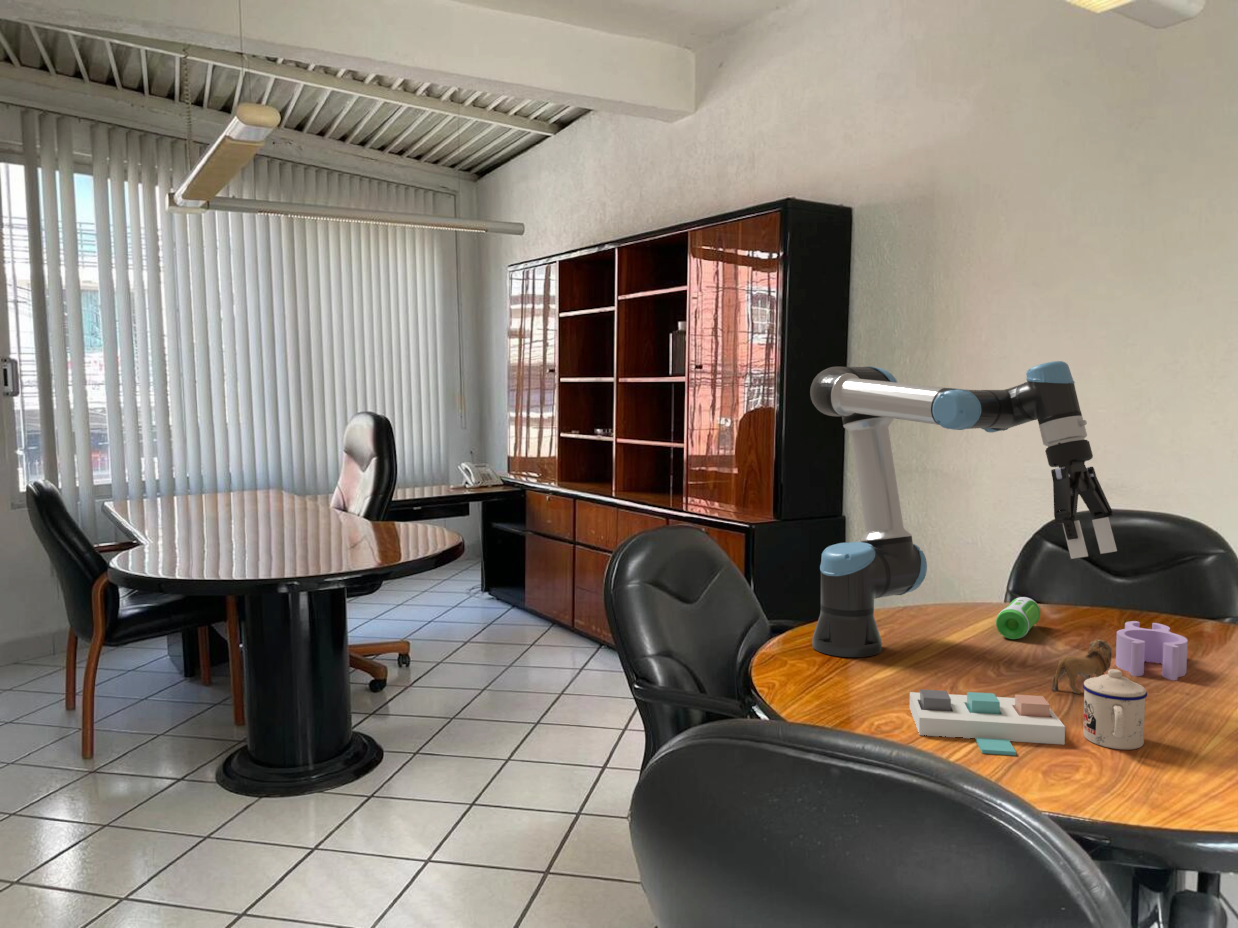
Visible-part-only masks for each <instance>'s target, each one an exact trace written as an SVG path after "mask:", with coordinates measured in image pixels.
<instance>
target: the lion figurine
mask: <svg viewBox="0 0 1238 928" xmlns="http://www.w3.org/2000/svg"><path fill="white" fill-rule="evenodd" d="M1112 651H1113V648H1112V647H1111V646H1110V644H1109V643H1108V642H1107V641H1105V640H1103V639H1094V640H1092V641H1091V642H1090V643H1089V648H1088V652H1087V654H1086V655H1085V656H1073V655H1066V656H1065V655H1064V656H1063V657H1061V658H1060V659H1059V662H1058V665H1057V668H1056V670H1055V671H1056V672H1055V674H1054V676H1053V677H1052V678H1051V684H1050V689H1051V690H1052V691H1053V692H1054V693H1057V692H1058V690H1059V680H1061V678H1062V677H1063V676H1064V675H1065V674H1067V677H1068V679H1069V682H1068V686H1069V687H1070V689H1071V690H1072V692H1073V693H1074V694H1078V695H1079V694H1080V695H1081V693H1082V691H1081V690H1080V689H1078V688H1076V682H1077V679H1078V676H1082V677H1084V681H1083V683H1084V682H1085V680H1087V679H1089V678H1091V676H1092V675H1095V677H1099V676H1101V675H1105V673H1106V672H1108V670H1110V668H1111V665H1112V664H1111V662H1112V656H1113V653H1112Z"/></svg>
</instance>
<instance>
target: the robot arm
mask: <svg viewBox="0 0 1238 928" xmlns="http://www.w3.org/2000/svg"><path fill="white" fill-rule="evenodd" d="M1025 375H1026V381H1025V382H1024V383H1021V384H1019V385H1014V386H1013V387H1009V388H1006V389H963V388H954V387H953V388H952V387H943V386H942V387H940V386H933V385H932V386H931V385H921V384H912V383H906V382H905V383H903V382H898V381H897V379H896V378H895V376H894V375H893V374H892V373H891V372H889V371H888V370H887V369H885V368H880V367H874V366H831V367H828V368H826V369H823V370H822V371H820V372H819V373H817V375H816V376H815V377H814V378H813V380H812V383H811V385H810V391H809V393H810V394H809V395H810V400H811V402H812V404H813V405H814V407H815V408H816V410H817V411H819V412H820V413H821V414H823V415H826V416H830V417H841V418H842V419H841V420H842V426H843V428H844V429H846V430H847V431H848V432H849V433H850V435H851V441H852V449H853V455H854V461H855V463H854V464H855V467H856V474H857V475H856V477H857V482H858V488H859V495H860V496H859V497H860V503H861V504H860V505H861V509H862V517H863V522H864V530H865V532H864V534H863V536H862V538H861V539H860V541H850V542H839V543H836V544H832V545H828V546H827V547H826V548H825V549H824V550H823V551H822V553H821V558H820V559H821V561H820V565H819V570H820V613H819V616H818V620H817V622H816V626H815V628H814V631H813V634H812V648H813V650H815V651H817V652H819V653H822V654H825V655H826V654H827V655H829V656H834V657H840V658H841V657H843V658H867V657H871V656H876V655H879V654H880V653H881V652H882V647H883V646H882V642H883V641H882V637H881V634H880V632H879V628H878V625H877V621H876V619H875V599H881V598H884V597H885V598H887V597H893V596H902V595H905V594H908V593H911V592H914V591H916V590H917V589H918V588H919V587H920V586H921V585H922V583H923V582H924V580H925V578H926V575H927V573H928V572H927V570H928V563H927V558H926V555H925V553H924V551H923V550H921V547H920V546H918V545H917V544H915V543H914V542H913V535H912V533H910V532H909V531H908V530H906V529H905V528H904V523H903V522H904V521H903V516H902V515H903V514H902V509H901V502H900V496H899V489H898V483H897V477H896V469H895V463H894V457H893V456H894V455H893V450H892V443H891V438H890V437H891V435H890V431H889V428H890V426H891V424H892V422H893V421H894V420H895V419H896V420H901V421H902V420H903V421H909V422H915V423H923V424H930V425H937V426H940V427H942V428H944V429H947V430H953V431H954V430H956V431H962V430H963V431H964V430H968V429H969V430H972V429H974V430H975V429H981V430H984V431H985V432H986V433H990V434H991V433H992V434H993V433H997V432H1000V431H1001V432H1002V431H1003V432H1004V431H1006V430H1009V429H1011V428H1014V427H1017V426H1020V425H1023V424H1027V423H1030V422H1033V421H1036V420H1037V423H1038V427H1039V428H1038V429H1039V432H1040V436H1041V439H1042V445H1044V446H1045V447H1046V448H1045V455H1046V458H1047V463H1048V466H1049V467H1050V468H1054V469H1051V470H1050V473H1051V479H1052V483H1053V484H1052V487H1053V493H1052V494H1053V517H1054V521H1055V523H1056V524H1062V528H1063V532H1064V535H1065V540H1066V544H1067V549H1068V552H1069V556H1070V559H1071V560H1073V559H1079V558H1087V557H1089V553H1088V549H1087V545H1086V542H1085V538H1084V534H1083V530H1082V529H1083V528H1082V526H1081V523H1080V520H1079V519H1078V520H1077V511H1078V505H1079V503H1078V501H1079V496H1080V498H1081V499H1082V500H1083V502H1084V503H1085V506H1086V508H1087V509H1088V511H1089V512H1090V514H1091V515H1092V517H1093V519H1092V520H1091V521H1092V526H1093V529H1094V533H1095V537H1096V541H1097V544H1098V549H1099V553H1100V555H1102V554H1109V553H1113V552H1114V553H1115V552H1117V551H1118V549H1117V544H1116V542H1115V541H1116V540H1115V537H1114V533H1113V530H1112V525H1111V523H1110V517H1114V511H1112V509H1113V508H1111V506H1110V503H1109V501H1108V499H1107V497H1106V494H1105V492H1104V490H1103V489H1102V486H1101V483H1100V481H1099V479H1098V476H1097V474H1096V471H1095V467H1094V466H1088V467H1087V466H1086V462H1088V461H1091V460H1092V459H1093V458H1094V455H1093V452H1092V448H1091V444H1090V441H1089V440H1088V439H1085V438H1086V437H1088V433H1087V429H1086V425H1087V423H1088V422H1087V420H1085V419H1084V418H1083V415H1082V410H1081V407H1080V403H1079V398H1078V394H1077V390H1076V385H1075V383H1076V382H1075V380H1074V378H1073V376H1072V373H1071V369H1070V367H1069V365H1068V363H1067V362H1064V361H1063V360H1061V361H1060V360H1055V361H1054V360H1052V361H1050V362H1049V361H1048V362H1043V363H1039V364H1038V365H1034V366H1032V367H1031V368H1028V370H1026V372H1025Z"/></svg>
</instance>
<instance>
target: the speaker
mask: <svg viewBox="0 0 1238 928" xmlns="http://www.w3.org/2000/svg"><path fill="white" fill-rule="evenodd" d="M1040 617H1041V608H1040V606H1039V605H1038V603H1037V602H1036V601H1035V600H1034V599H1032V598H1030V597H1027V596H1020V597H1016V598H1014V599H1013V600H1012V601H1010V603H1009V604H1008V605H1007V606H1006V607H1005V608H1004V609H1003V608H1002V610H1001V611H1000V612H999V613H997V616H996V620H995V626H996V630H997V631H998V633H1000V635H1002V637H1005V638H1006V639H1009V640H1019V639H1021V638H1025V636H1027V634H1028V633H1029V631H1030V630H1031V628H1033V627H1034V626H1035V625H1036V624H1037V623H1038V622H1039V620H1040V619H1041V618H1040Z"/></svg>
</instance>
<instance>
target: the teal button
mask: <svg viewBox="0 0 1238 928" xmlns="http://www.w3.org/2000/svg"><path fill="white" fill-rule="evenodd" d="M966 695H967V709H968V710H969V712H970V713H983V714H1000V702H999V700H998V699H997V697H998V696H996V694H995V693H993V692H973V691H967V692H966Z"/></svg>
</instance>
